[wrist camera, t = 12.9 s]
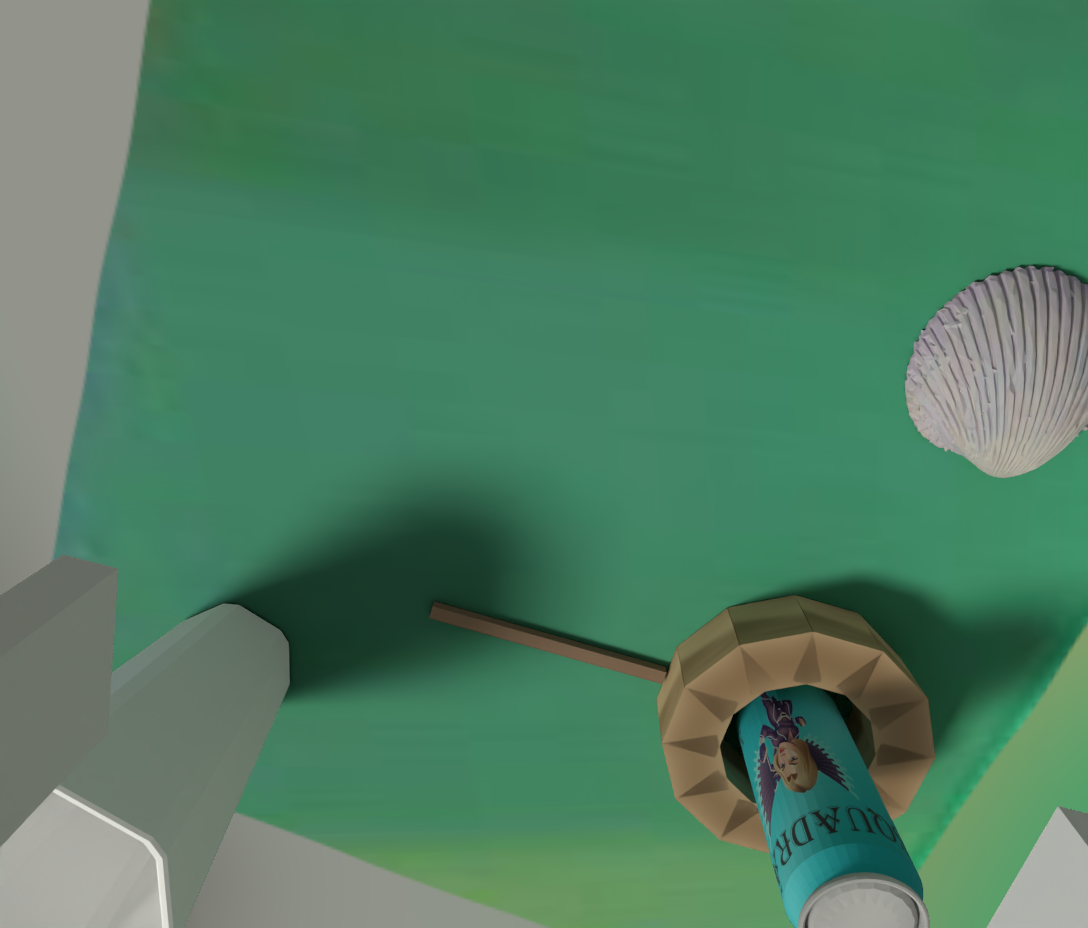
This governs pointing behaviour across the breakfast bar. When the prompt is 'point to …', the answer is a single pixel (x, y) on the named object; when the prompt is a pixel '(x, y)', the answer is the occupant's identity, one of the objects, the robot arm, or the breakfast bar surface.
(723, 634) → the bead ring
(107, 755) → the cup
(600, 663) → the brown stick
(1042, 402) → the seashell
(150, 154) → the breakfast bar surface
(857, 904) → the beverage can
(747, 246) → the breakfast bar surface
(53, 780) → the robot arm
